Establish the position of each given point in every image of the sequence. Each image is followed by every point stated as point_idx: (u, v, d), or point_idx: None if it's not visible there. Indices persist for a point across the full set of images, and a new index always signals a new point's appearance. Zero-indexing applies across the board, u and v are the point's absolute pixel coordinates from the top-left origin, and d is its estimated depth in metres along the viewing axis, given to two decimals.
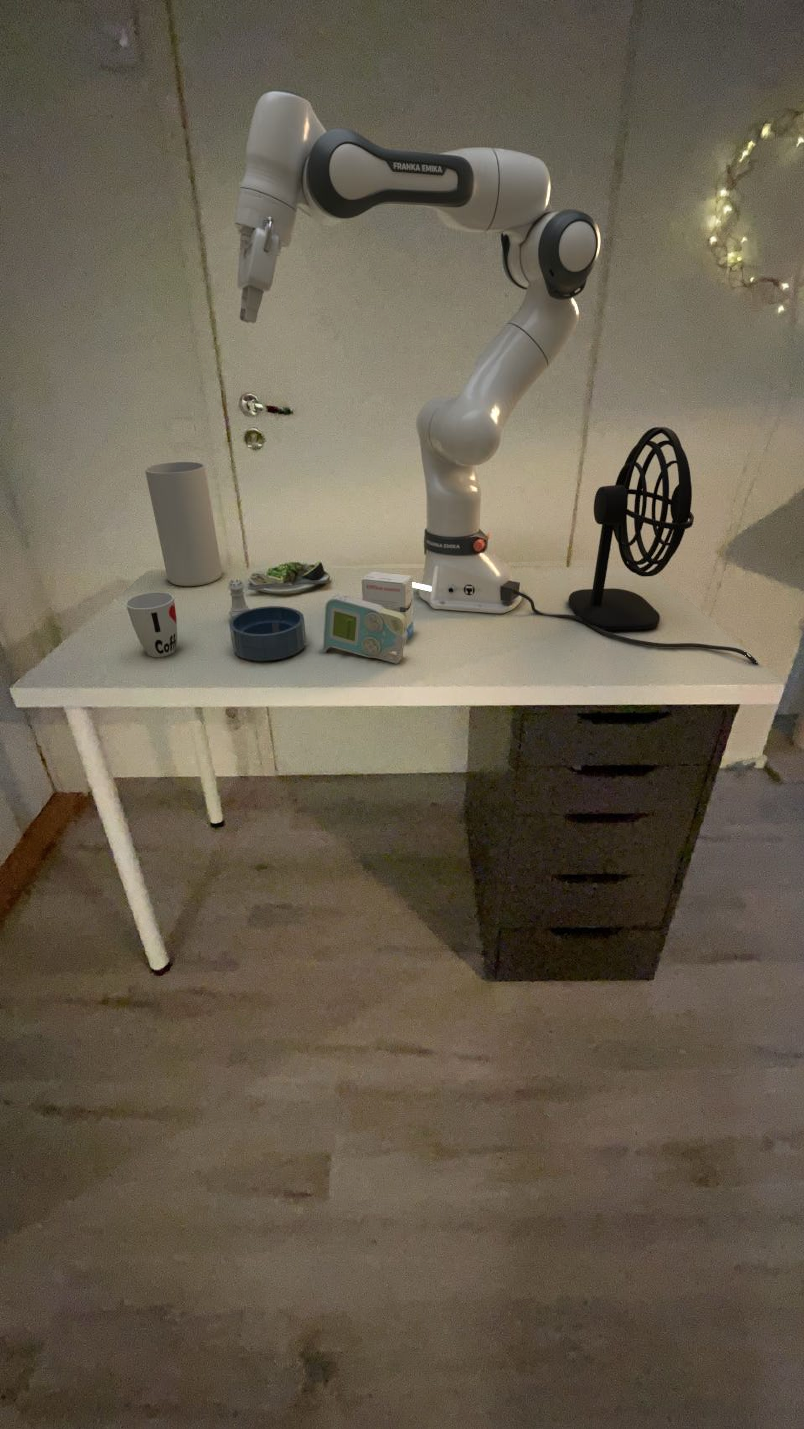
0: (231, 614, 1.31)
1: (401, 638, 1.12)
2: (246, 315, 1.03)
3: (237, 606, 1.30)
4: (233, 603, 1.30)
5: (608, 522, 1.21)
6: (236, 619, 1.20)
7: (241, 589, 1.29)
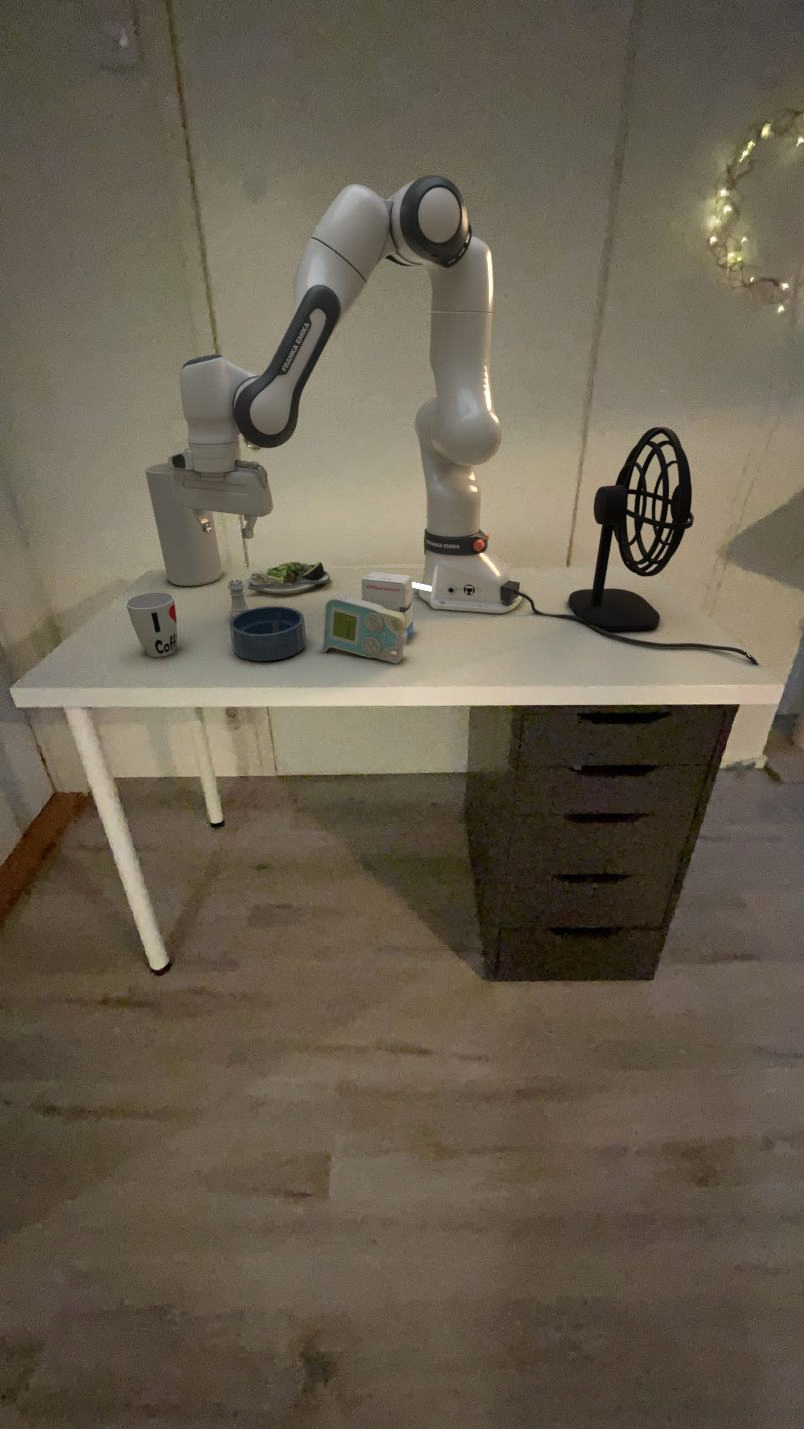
0: (231, 614, 1.31)
1: (401, 638, 1.12)
2: (248, 535, 1.21)
3: (237, 606, 1.30)
4: (233, 603, 1.30)
5: (608, 522, 1.21)
6: (236, 619, 1.20)
7: (241, 589, 1.29)
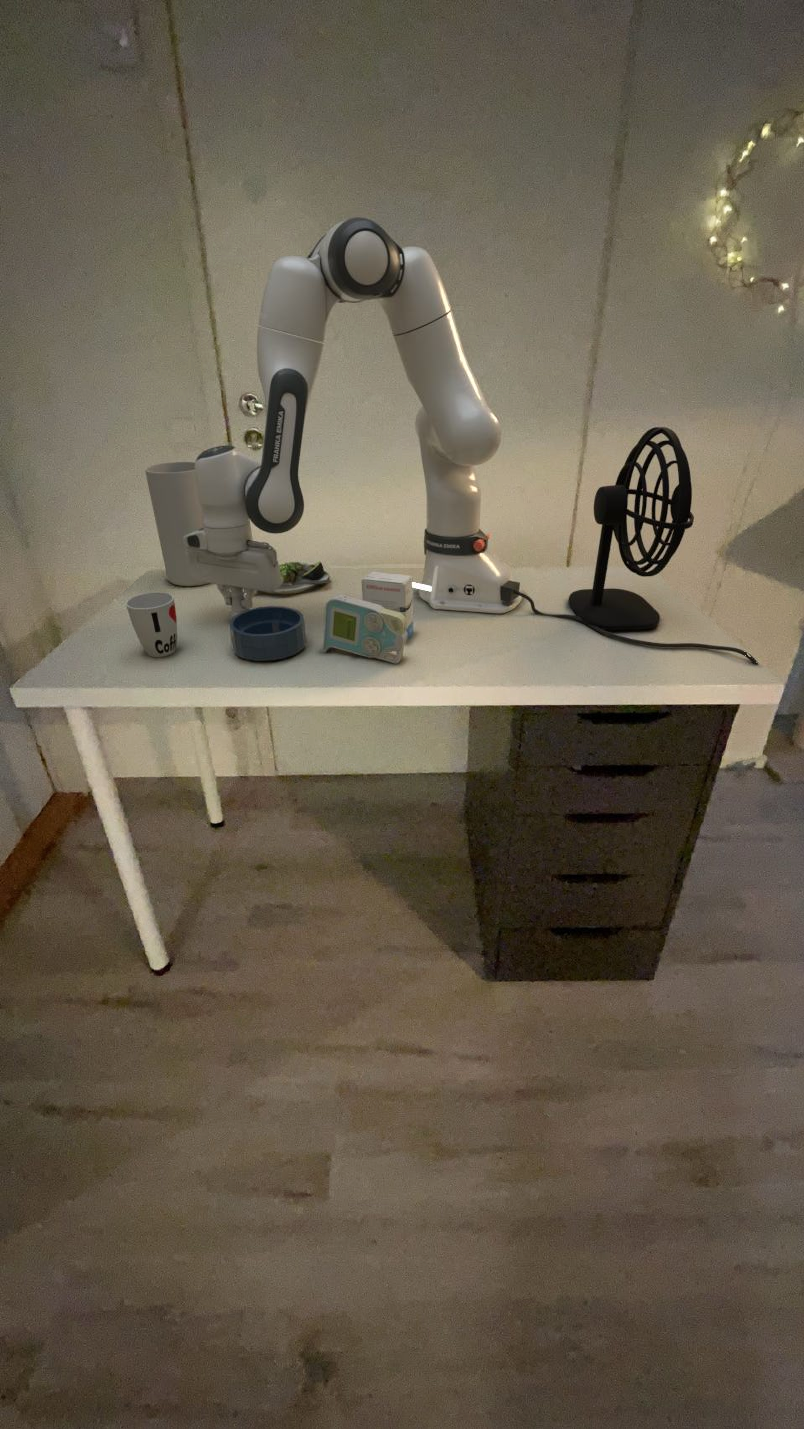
0: (231, 614, 1.31)
1: (401, 638, 1.12)
2: (248, 605, 1.30)
3: (237, 606, 1.30)
4: (233, 603, 1.30)
5: (608, 522, 1.21)
6: (236, 619, 1.20)
7: (241, 589, 1.29)
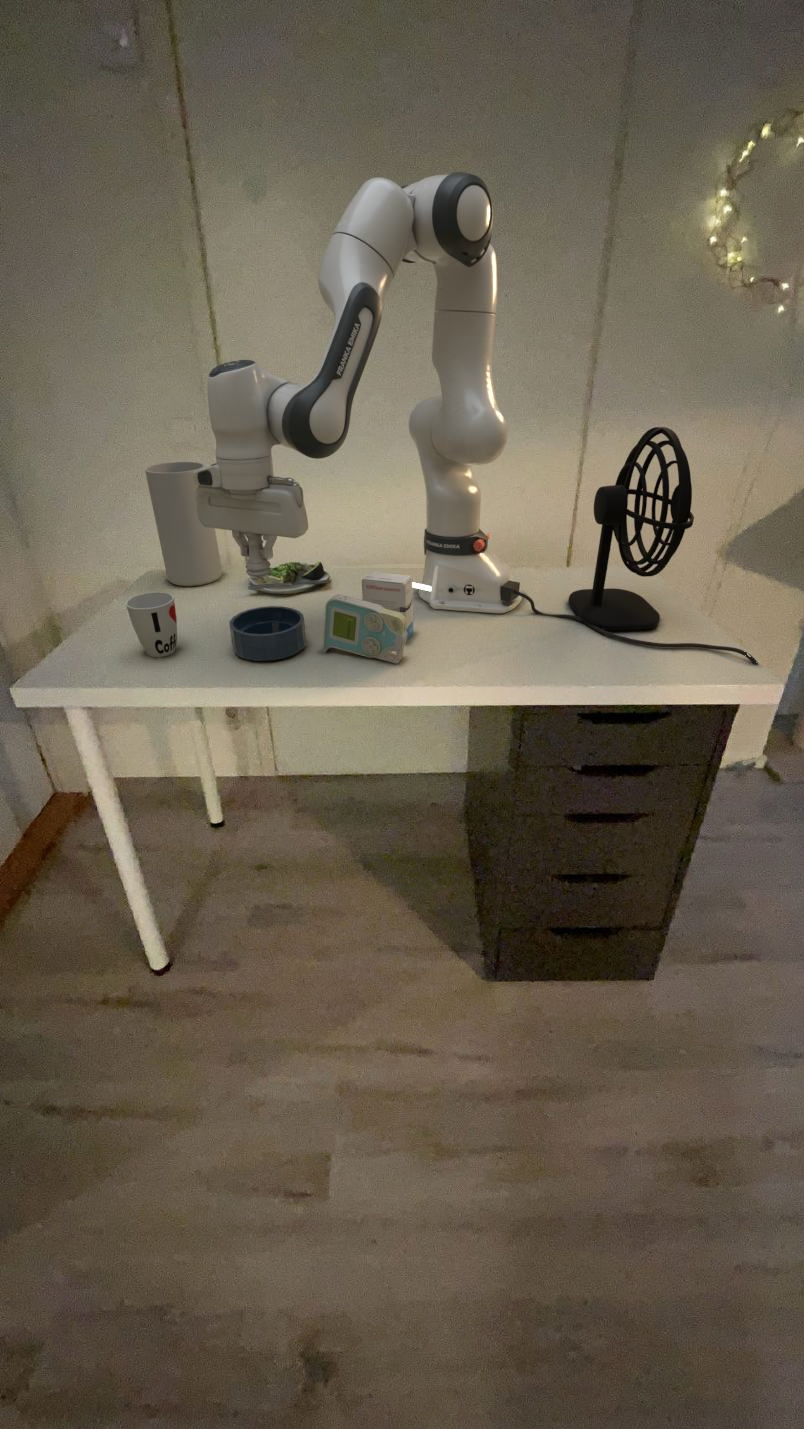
0: (248, 566, 1.13)
1: (401, 638, 1.12)
2: (267, 556, 1.12)
3: (255, 557, 1.12)
4: (250, 553, 1.12)
5: (608, 522, 1.21)
6: (236, 619, 1.20)
7: (260, 536, 1.11)
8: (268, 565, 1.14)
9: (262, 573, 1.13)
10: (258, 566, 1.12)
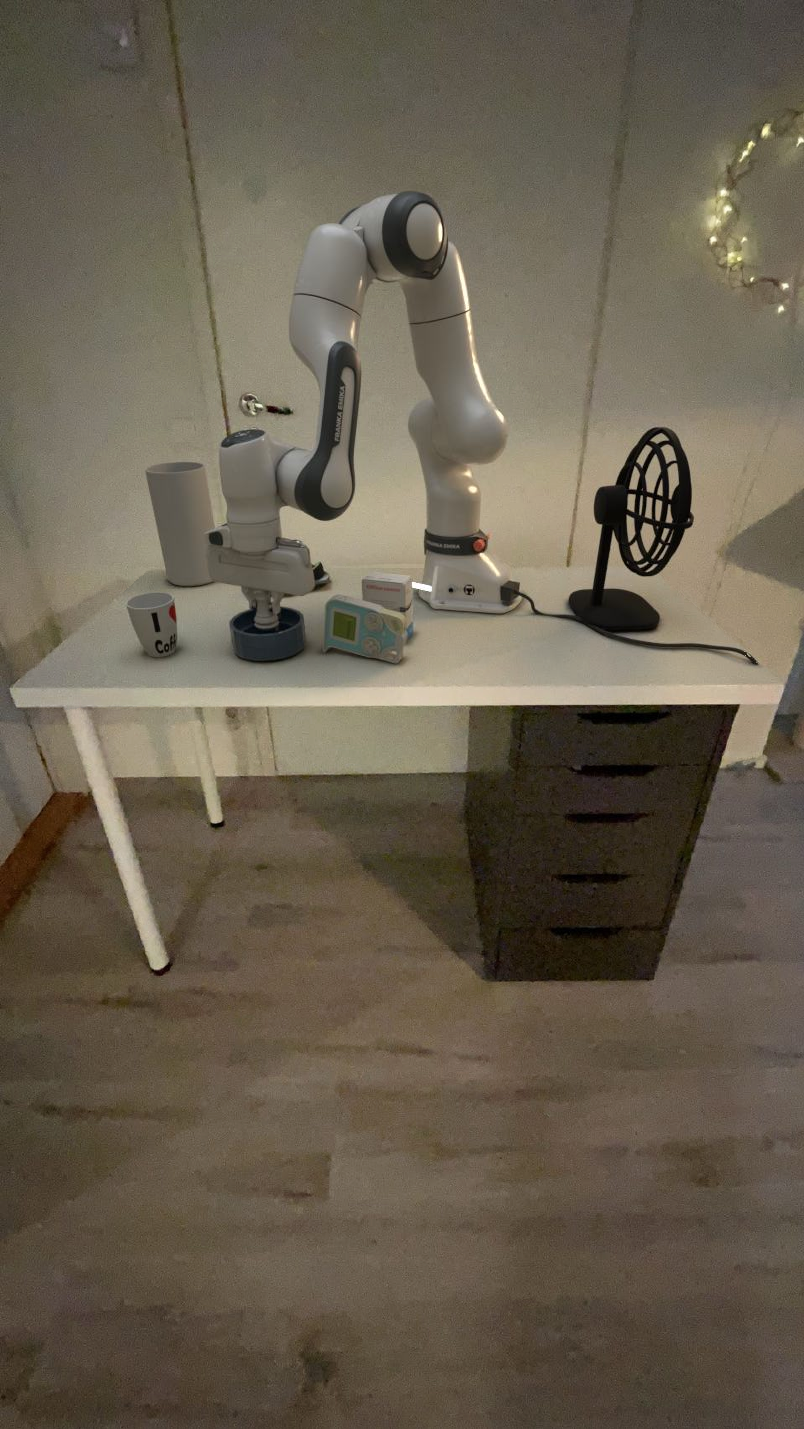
0: (256, 620, 1.17)
1: (401, 638, 1.12)
2: (275, 610, 1.16)
3: (264, 611, 1.17)
4: (259, 608, 1.17)
5: (608, 522, 1.21)
6: (236, 619, 1.20)
7: (268, 592, 1.15)
8: (276, 619, 1.18)
9: (270, 626, 1.18)
10: (266, 620, 1.17)
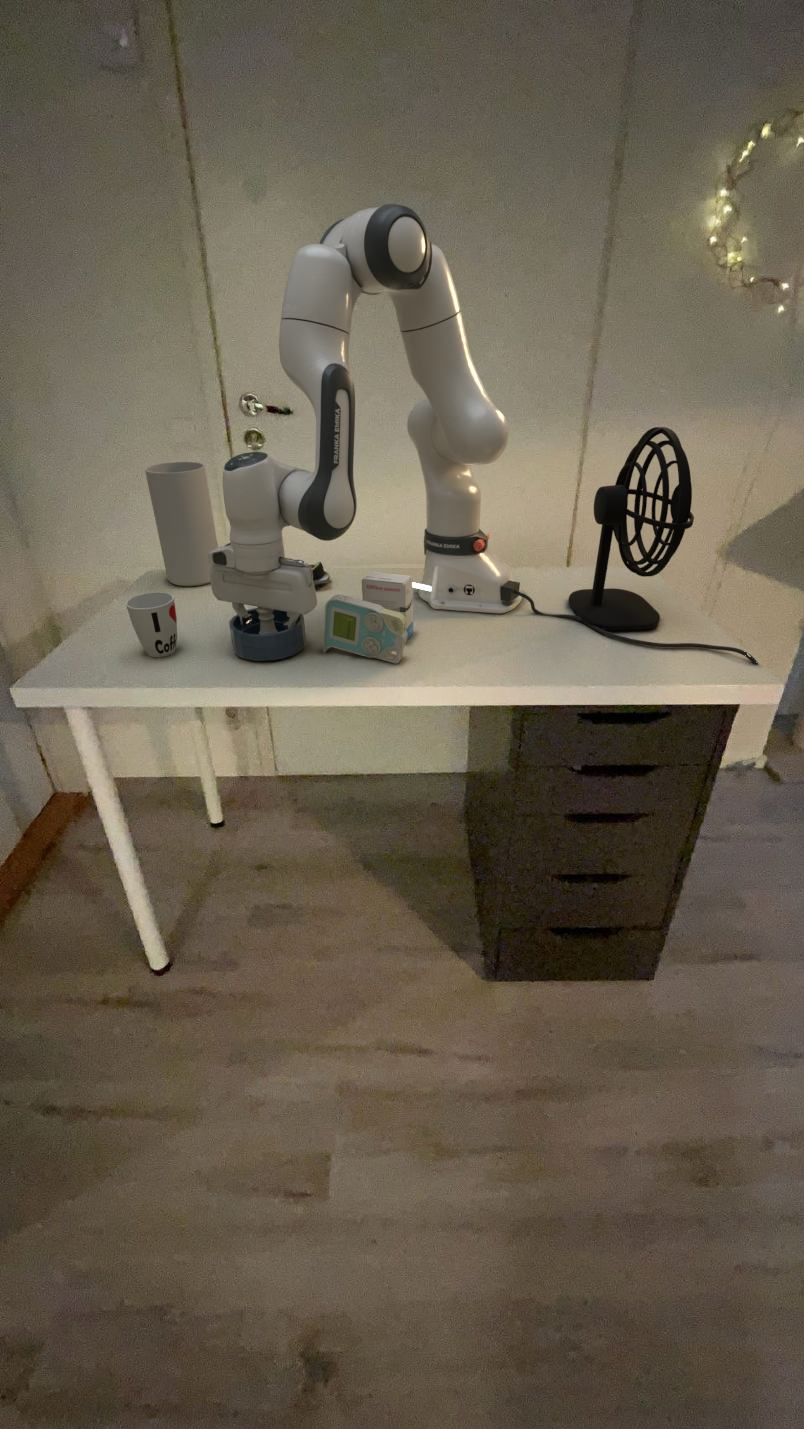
0: None
1: (401, 638, 1.12)
2: None
3: (266, 631, 1.19)
4: (262, 627, 1.19)
5: (608, 522, 1.21)
6: (236, 619, 1.20)
7: (271, 612, 1.17)
8: None
9: None
10: None
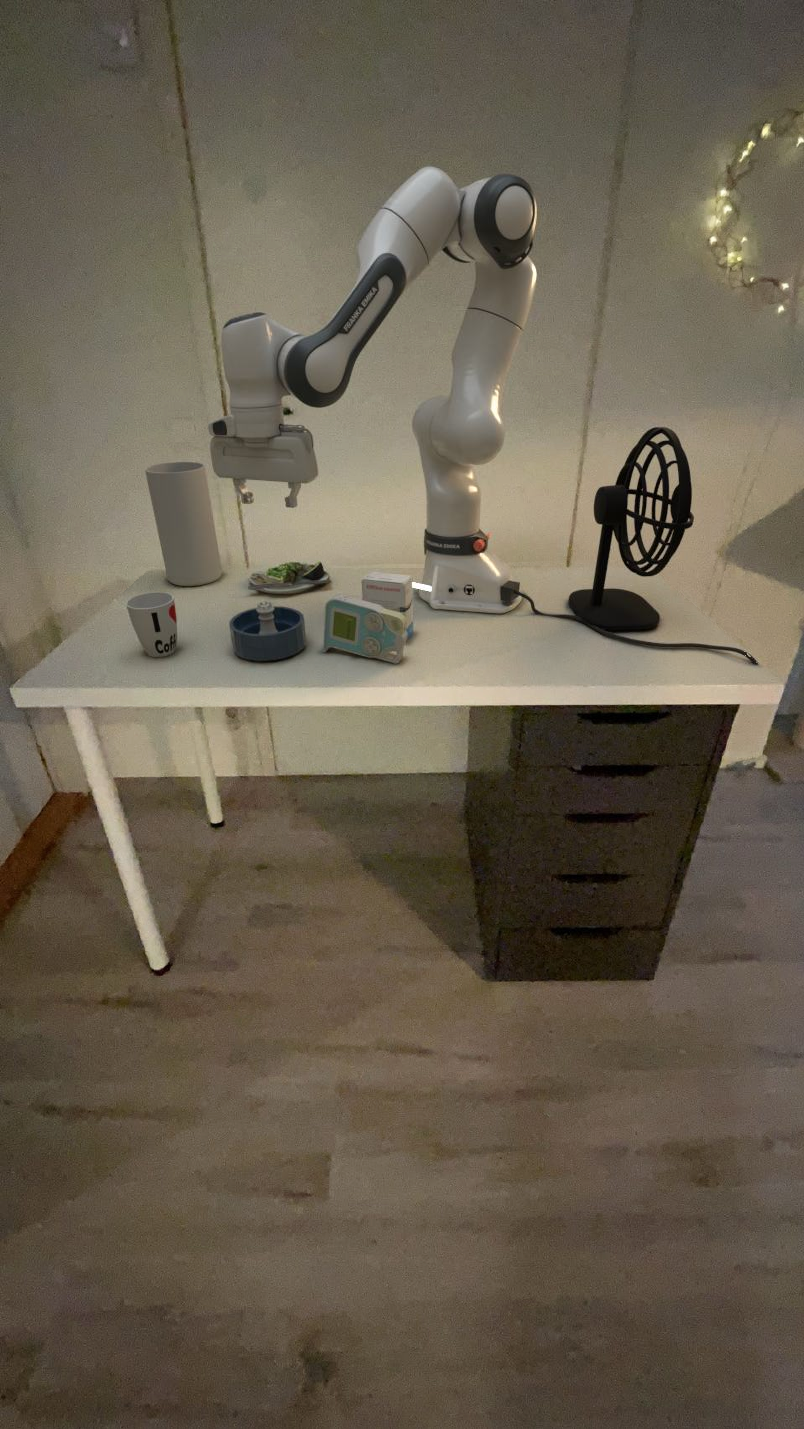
0: None
1: (401, 638, 1.12)
2: (292, 504, 1.17)
3: (266, 631, 1.19)
4: (262, 627, 1.19)
5: (608, 522, 1.21)
6: (236, 619, 1.20)
7: (271, 612, 1.17)
8: None
9: None
10: None
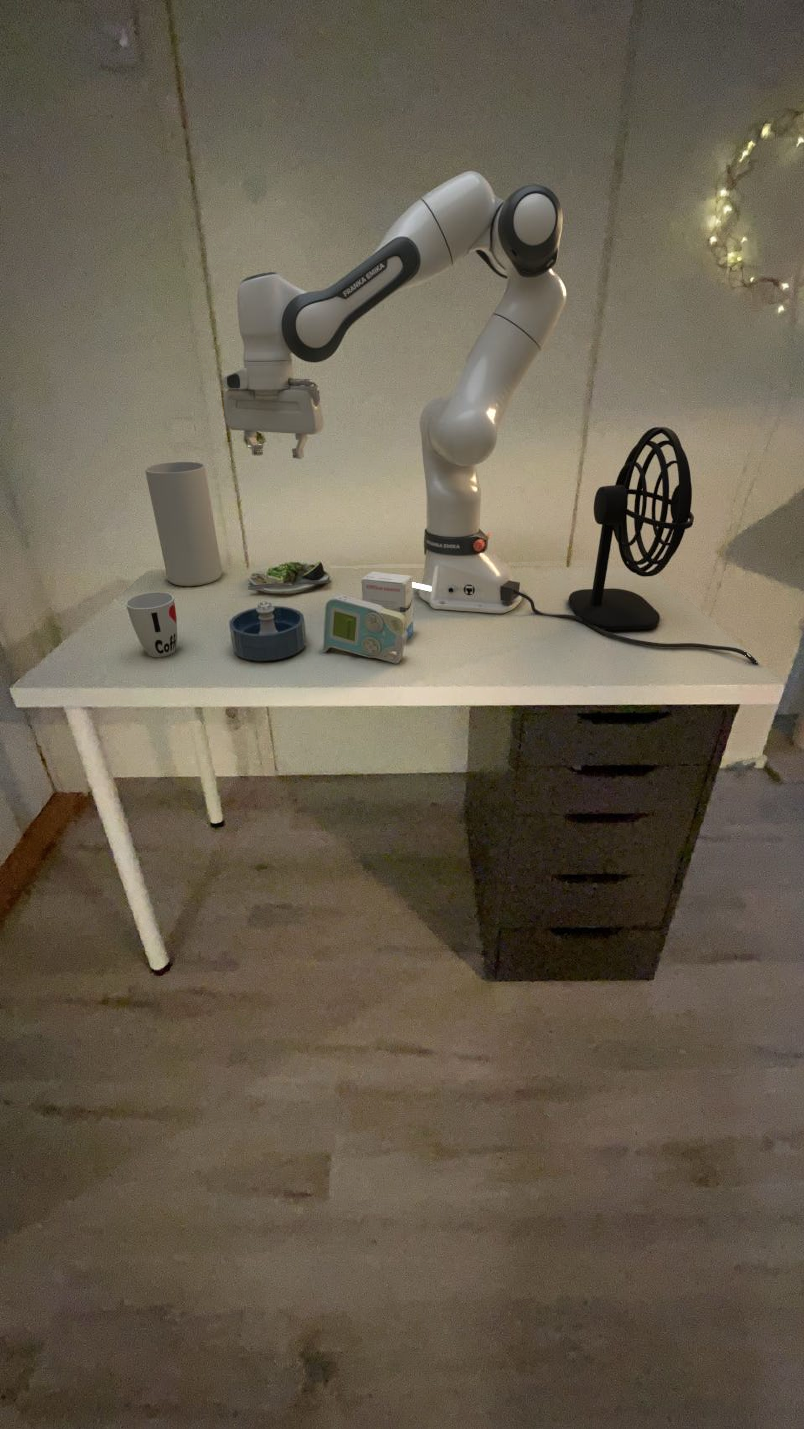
0: None
1: (401, 638, 1.12)
2: (299, 455, 1.26)
3: (266, 631, 1.19)
4: (262, 627, 1.19)
5: (608, 522, 1.21)
6: (236, 619, 1.20)
7: (271, 612, 1.17)
8: None
9: None
10: None
